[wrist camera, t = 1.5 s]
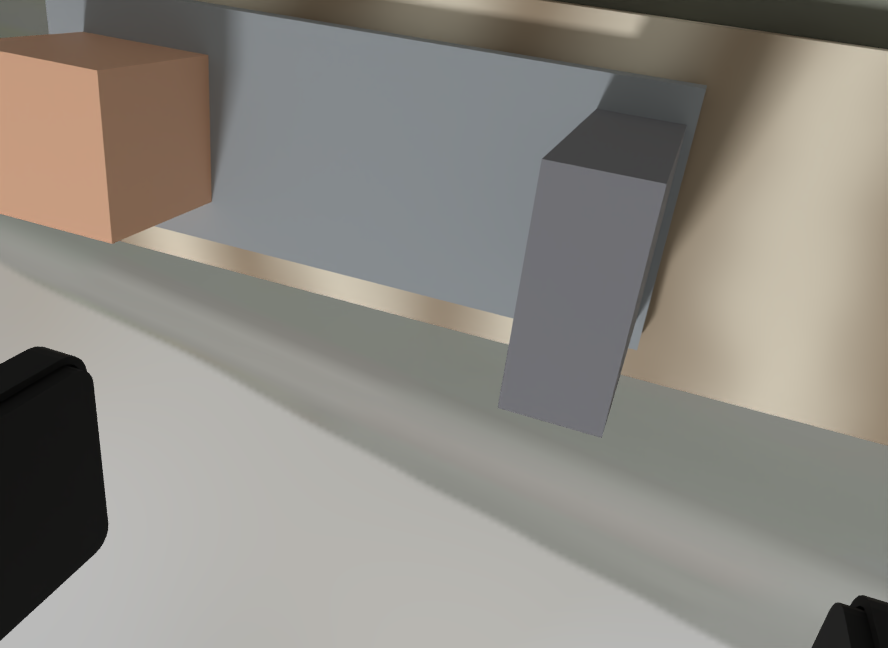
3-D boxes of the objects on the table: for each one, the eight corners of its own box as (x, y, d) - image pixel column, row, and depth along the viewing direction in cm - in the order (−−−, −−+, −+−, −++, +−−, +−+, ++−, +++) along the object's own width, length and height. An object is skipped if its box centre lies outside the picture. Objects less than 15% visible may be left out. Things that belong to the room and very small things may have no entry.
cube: (208, 54, 25) (96, 70, 20) (211, 201, 27) (112, 243, 23) (83, 31, 26) (-47, 41, 22) (96, 173, 28) (-19, 208, 24)
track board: (1162, 89, 19) (1182, 94, 18) (970, 451, 23) (979, 469, 23) (70, -70, 27) (48, -72, 26) (98, 223, 32) (80, 230, 31)
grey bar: (706, 85, 21) (693, 134, 14) (639, 339, 24) (603, 475, 18) (61, -22, 26) (-170, -23, 20) (83, 198, 30) (-106, 261, 23)
